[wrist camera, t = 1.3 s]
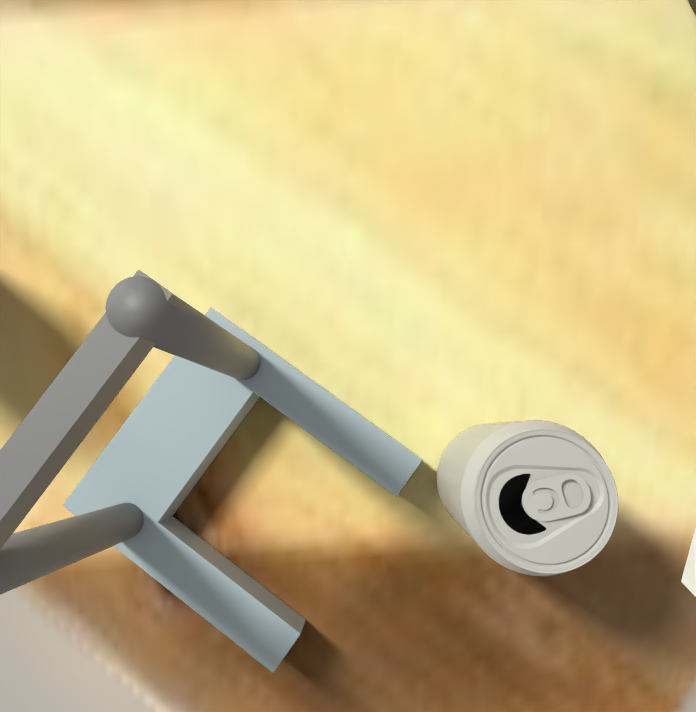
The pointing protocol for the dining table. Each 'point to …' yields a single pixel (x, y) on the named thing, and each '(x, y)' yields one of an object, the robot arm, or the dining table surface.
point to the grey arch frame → (169, 457)
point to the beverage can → (529, 494)
